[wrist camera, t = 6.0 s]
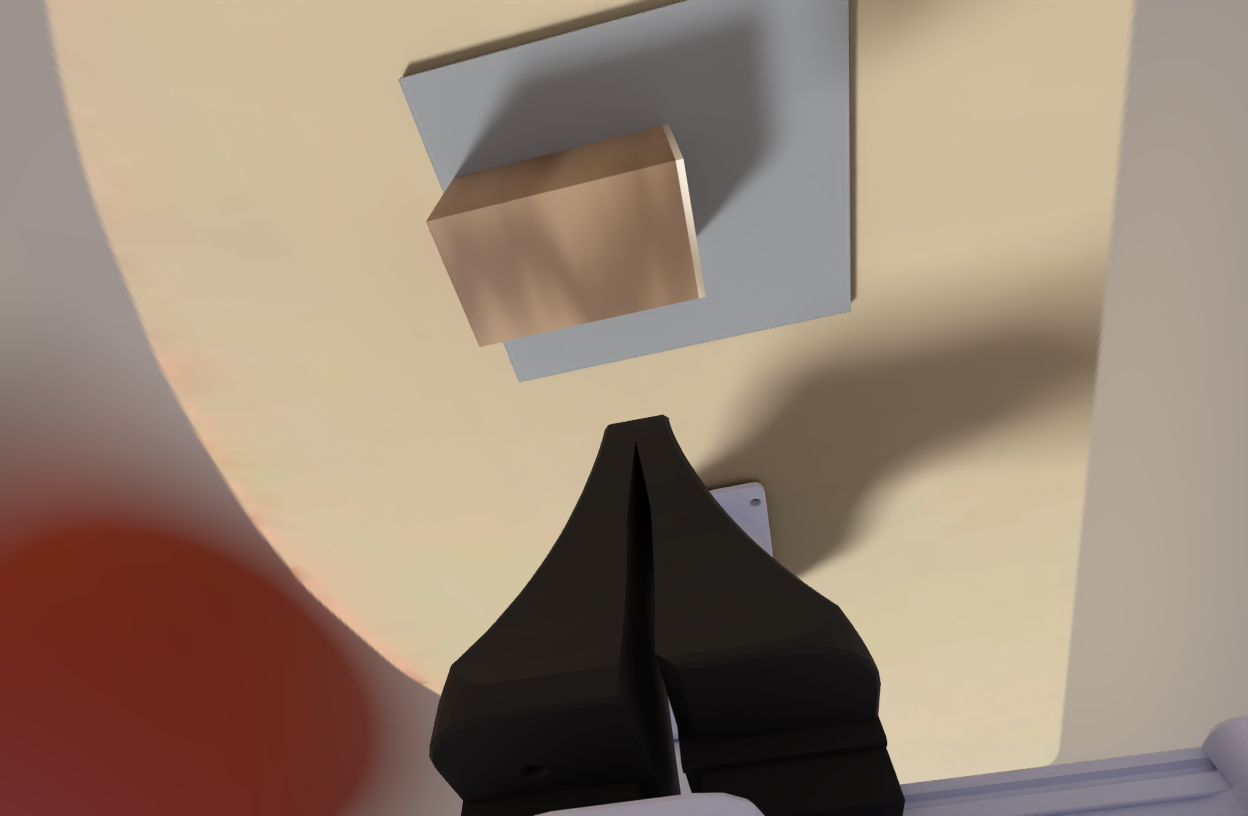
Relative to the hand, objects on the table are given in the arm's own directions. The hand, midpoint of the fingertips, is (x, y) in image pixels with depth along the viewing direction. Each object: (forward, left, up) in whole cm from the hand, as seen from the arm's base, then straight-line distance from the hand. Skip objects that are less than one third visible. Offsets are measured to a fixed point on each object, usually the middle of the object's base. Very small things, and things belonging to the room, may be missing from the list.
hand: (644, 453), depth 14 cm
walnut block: (+2, -2, -8) cm, 9 cm away
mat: (+2, -1, -10) cm, 11 cm away
